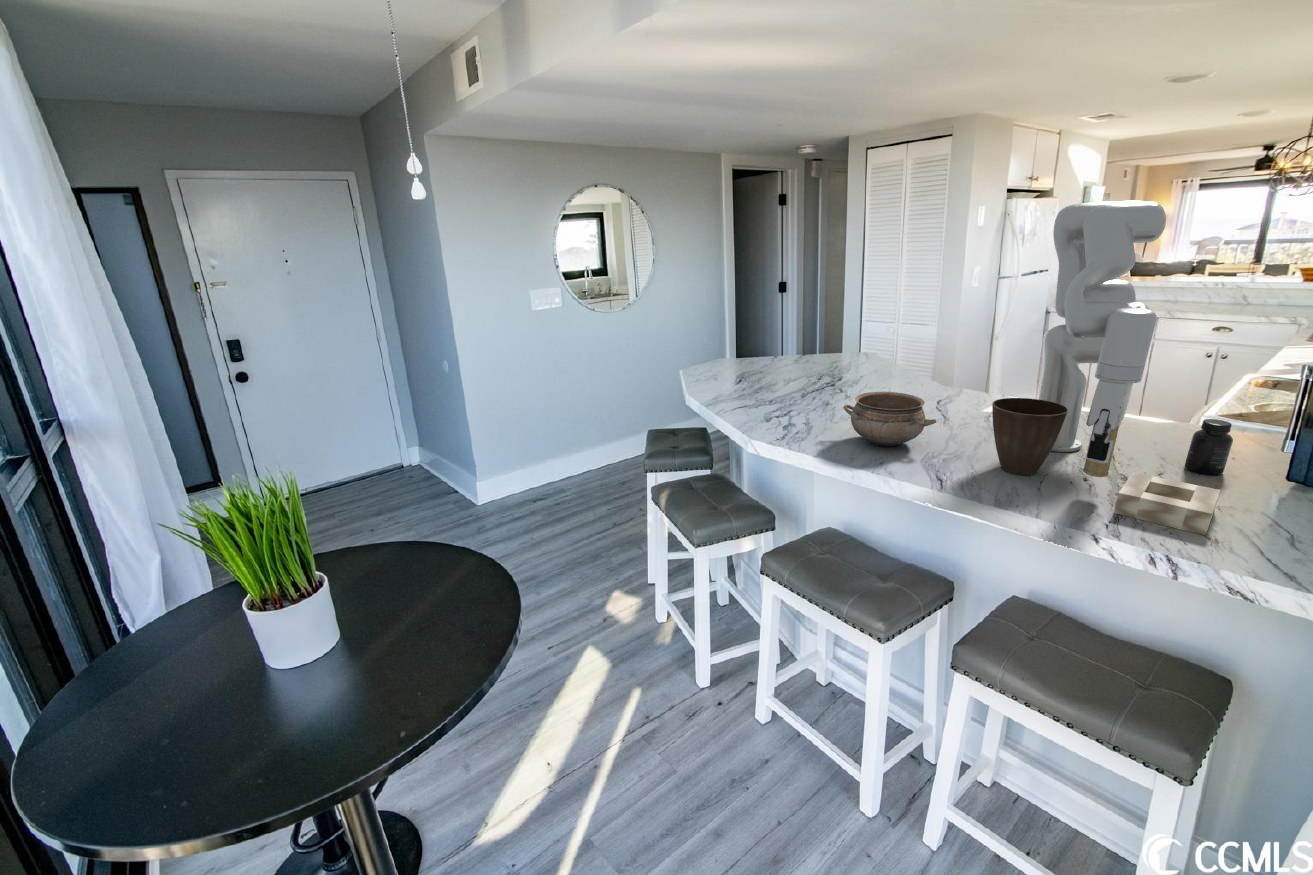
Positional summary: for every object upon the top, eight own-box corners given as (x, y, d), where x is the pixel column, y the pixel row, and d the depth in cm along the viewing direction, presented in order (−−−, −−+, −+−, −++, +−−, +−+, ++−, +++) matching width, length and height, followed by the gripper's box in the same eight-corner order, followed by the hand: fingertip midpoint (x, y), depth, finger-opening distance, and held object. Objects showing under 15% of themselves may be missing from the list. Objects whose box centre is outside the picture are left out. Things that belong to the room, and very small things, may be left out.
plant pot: (971, 468, 144) (980, 405, 139) (1000, 454, 152) (1010, 393, 147) (1037, 487, 132) (1050, 419, 127) (1066, 470, 141) (1079, 406, 135)
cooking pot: (944, 442, 162) (949, 399, 158) (919, 463, 148) (924, 416, 144) (856, 425, 178) (859, 386, 174) (827, 443, 164) (829, 401, 160)
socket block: (1113, 512, 120) (1118, 492, 119) (1128, 491, 129) (1132, 472, 128) (1205, 535, 110) (1212, 513, 109) (1214, 510, 119) (1220, 490, 118)
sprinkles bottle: (1111, 474, 126) (1126, 414, 121) (1102, 479, 124) (1117, 419, 119) (1087, 467, 130) (1101, 409, 125) (1077, 472, 127) (1091, 413, 122)
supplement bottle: (1175, 466, 141) (1189, 418, 137) (1202, 464, 141) (1216, 416, 137) (1203, 477, 134) (1218, 427, 130) (1231, 475, 135) (1246, 425, 131)
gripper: (1106, 360, 126) (1088, 439, 133) (1085, 377, 116) (1067, 463, 122) (1150, 365, 121) (1129, 447, 128) (1133, 384, 111) (1111, 473, 117)
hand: (1099, 454), depth 125 cm, fingers closed on sprinkles bottle, 4 cm apart
